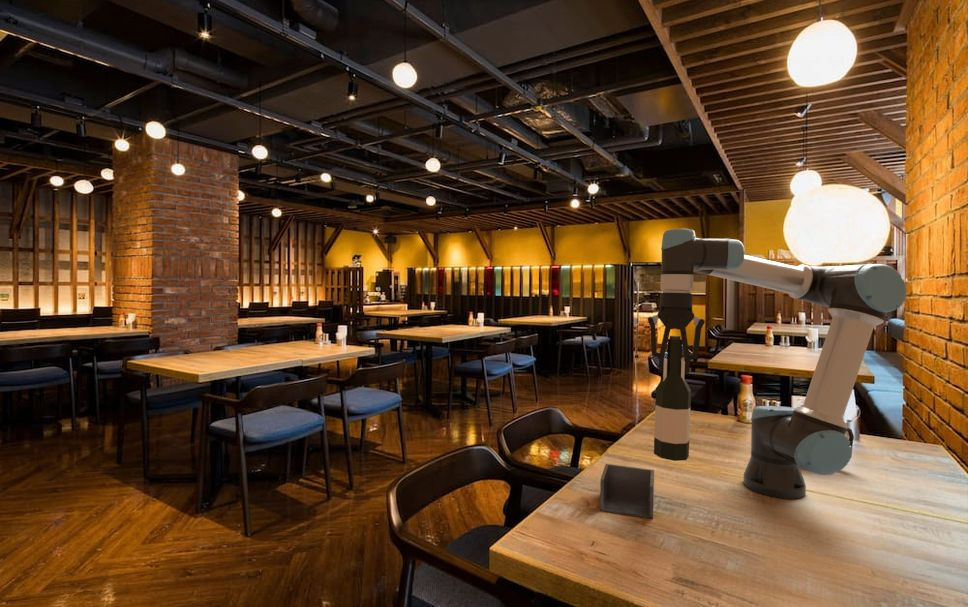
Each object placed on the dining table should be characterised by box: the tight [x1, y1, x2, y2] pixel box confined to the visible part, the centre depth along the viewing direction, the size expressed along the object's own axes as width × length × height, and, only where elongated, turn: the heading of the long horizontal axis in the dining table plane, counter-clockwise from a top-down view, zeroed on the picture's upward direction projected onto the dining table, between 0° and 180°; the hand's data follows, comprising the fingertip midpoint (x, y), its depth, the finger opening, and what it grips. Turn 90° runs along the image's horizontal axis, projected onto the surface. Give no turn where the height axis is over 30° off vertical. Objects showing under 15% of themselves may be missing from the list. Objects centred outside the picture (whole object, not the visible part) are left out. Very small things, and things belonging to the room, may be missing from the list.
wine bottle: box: [653, 335, 692, 462], centre depth 120 cm, size 8×8×30 cm
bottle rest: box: [599, 463, 655, 520], centre depth 125 cm, size 13×12×8 cm
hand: (673, 385), depth 120 cm, fingers closed on wine bottle, 3 cm apart
